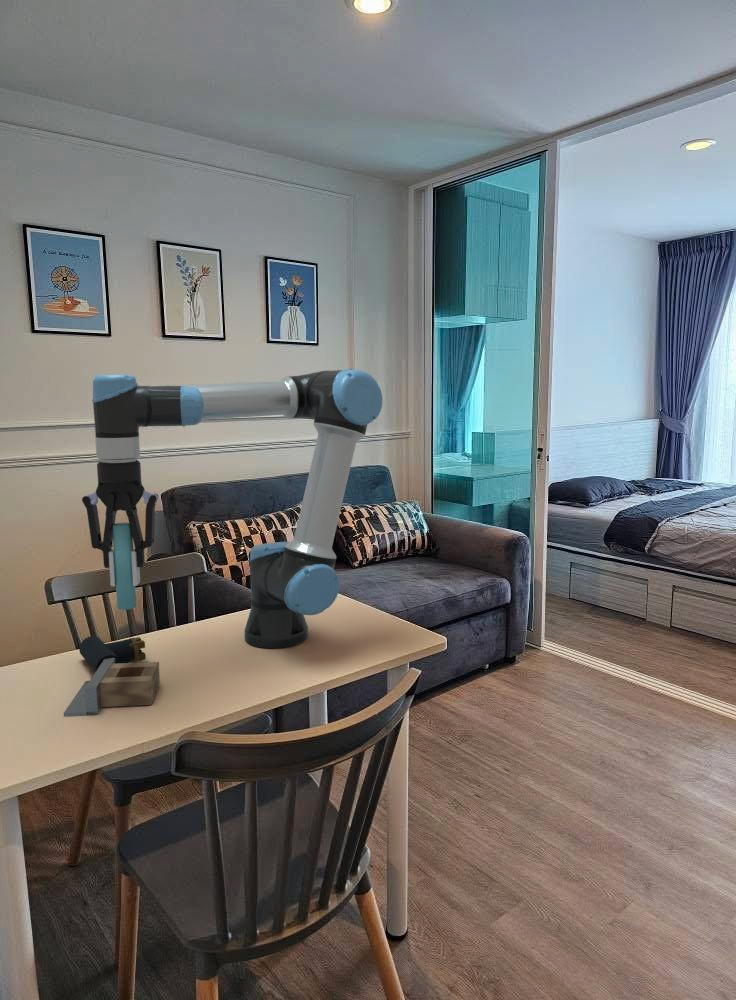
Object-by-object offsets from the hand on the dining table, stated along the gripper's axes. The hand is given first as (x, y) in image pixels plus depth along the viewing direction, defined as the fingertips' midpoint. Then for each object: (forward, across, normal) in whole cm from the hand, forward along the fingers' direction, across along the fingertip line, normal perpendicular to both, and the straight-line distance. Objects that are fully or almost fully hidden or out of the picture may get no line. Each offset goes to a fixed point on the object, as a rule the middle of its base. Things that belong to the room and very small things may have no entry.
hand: (125, 583), depth 128 cm
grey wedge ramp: (+23, +8, 0) cm, 24 cm away
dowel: (+5, 0, 0) cm, 5 cm away
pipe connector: (+23, +7, -15) cm, 28 cm away
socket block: (+23, 0, 0) cm, 23 cm away
